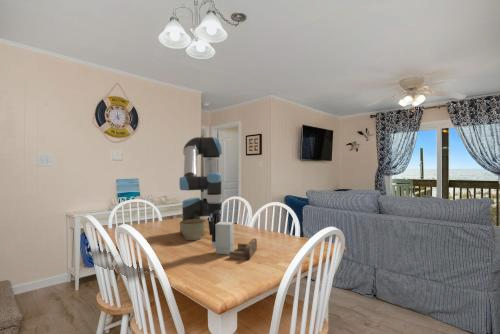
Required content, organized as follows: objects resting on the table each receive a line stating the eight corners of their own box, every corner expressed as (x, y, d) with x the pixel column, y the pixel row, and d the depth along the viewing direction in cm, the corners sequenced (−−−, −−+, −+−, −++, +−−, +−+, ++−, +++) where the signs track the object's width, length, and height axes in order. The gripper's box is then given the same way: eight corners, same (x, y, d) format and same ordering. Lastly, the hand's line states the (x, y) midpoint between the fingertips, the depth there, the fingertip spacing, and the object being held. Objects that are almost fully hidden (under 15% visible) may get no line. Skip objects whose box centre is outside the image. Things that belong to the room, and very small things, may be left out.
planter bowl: (208, 235, 180) (208, 218, 180) (202, 242, 164) (201, 224, 164) (184, 235, 181) (184, 218, 181) (175, 242, 165) (175, 224, 165)
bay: (238, 248, 151) (238, 237, 151) (256, 249, 148) (256, 238, 148) (229, 258, 135) (229, 246, 135) (249, 260, 133) (249, 247, 133)
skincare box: (234, 251, 146) (234, 222, 146) (230, 255, 140) (230, 224, 139) (219, 249, 148) (219, 221, 148) (214, 253, 142) (214, 223, 142)
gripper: (216, 204, 138) (216, 251, 138) (225, 201, 150) (225, 244, 150) (202, 203, 140) (202, 250, 140) (212, 200, 152) (212, 243, 152)
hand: (214, 247), depth 145 cm, fingers closed
